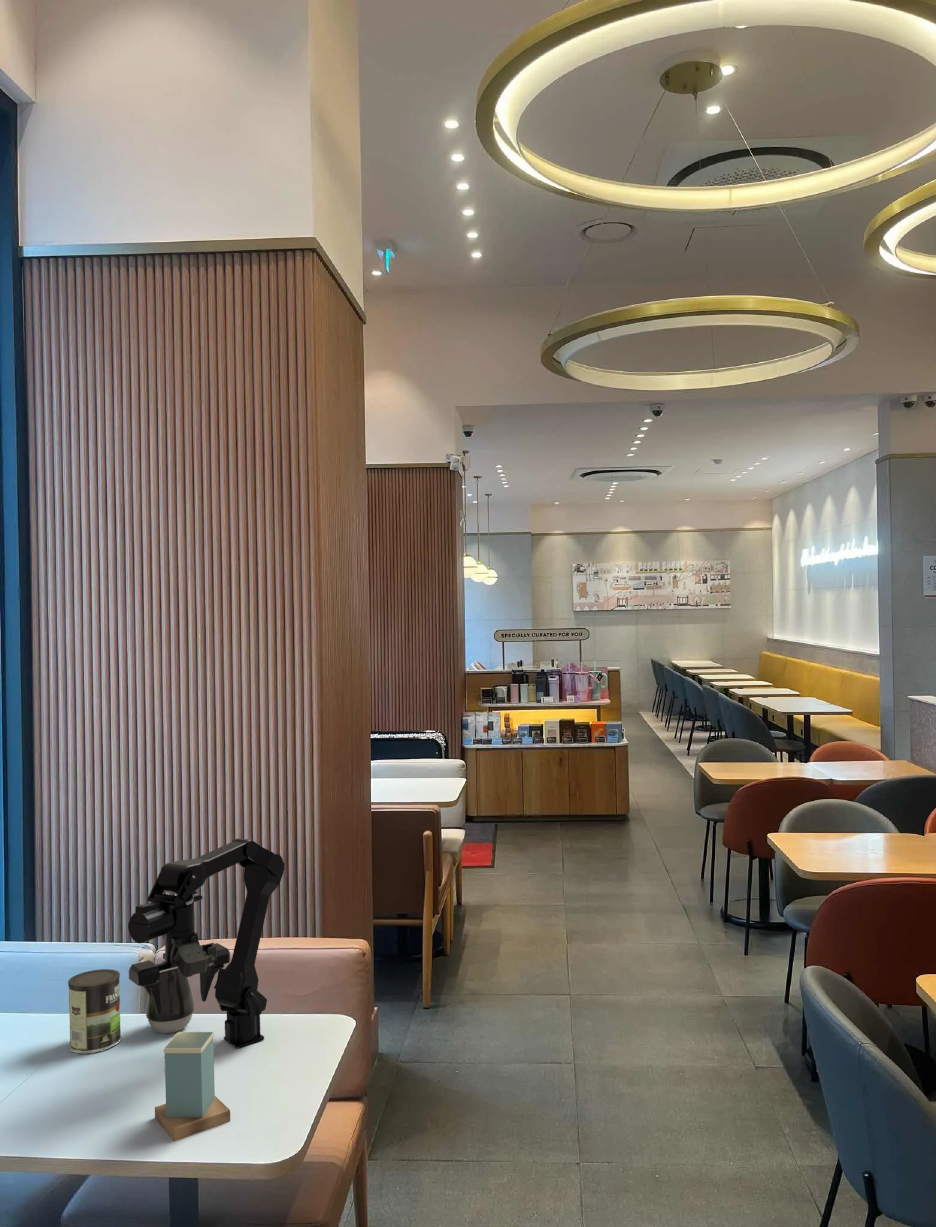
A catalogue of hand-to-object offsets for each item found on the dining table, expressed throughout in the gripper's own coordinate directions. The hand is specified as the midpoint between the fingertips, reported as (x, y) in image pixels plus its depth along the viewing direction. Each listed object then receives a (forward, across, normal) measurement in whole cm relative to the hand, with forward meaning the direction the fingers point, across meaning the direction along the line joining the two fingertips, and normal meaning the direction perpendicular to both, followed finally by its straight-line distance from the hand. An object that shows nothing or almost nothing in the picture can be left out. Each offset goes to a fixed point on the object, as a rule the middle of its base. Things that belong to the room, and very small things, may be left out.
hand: (181, 1007), depth 184 cm
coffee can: (+13, -8, +27) cm, 31 cm away
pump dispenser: (+13, +7, +23) cm, 27 cm away
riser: (+14, -6, -18) cm, 23 cm away
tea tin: (+11, -6, -18) cm, 22 cm away
